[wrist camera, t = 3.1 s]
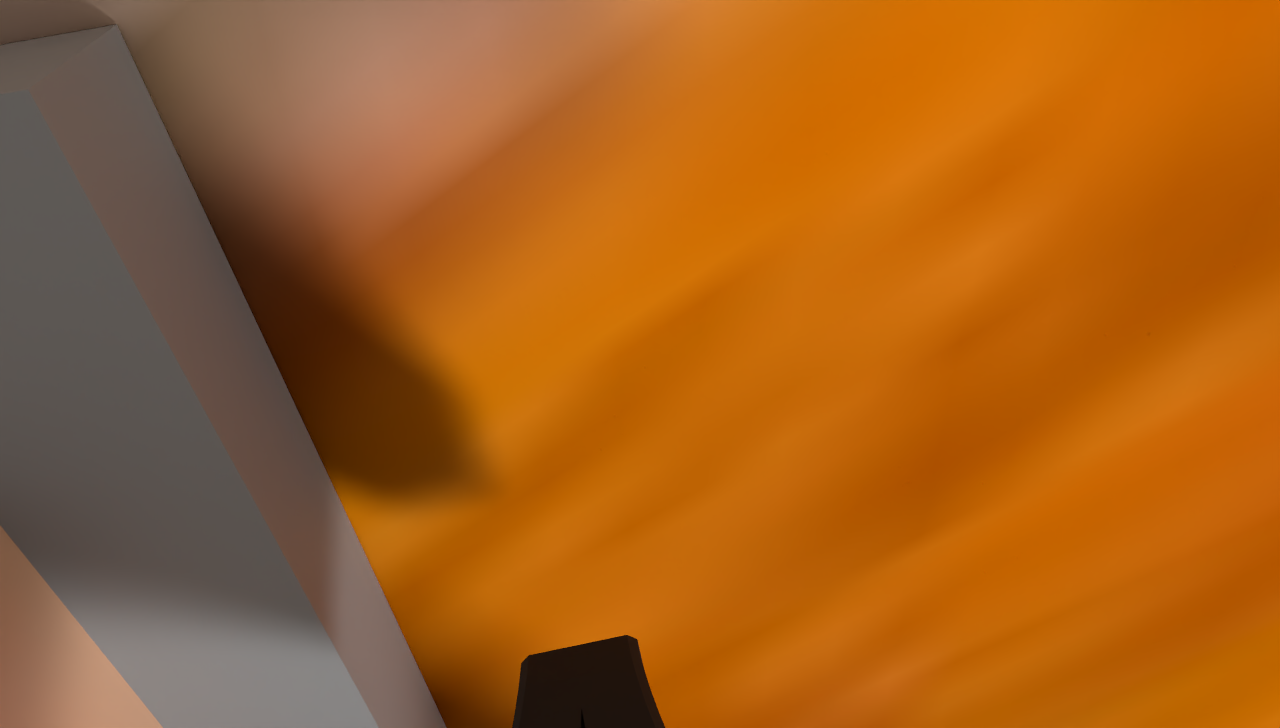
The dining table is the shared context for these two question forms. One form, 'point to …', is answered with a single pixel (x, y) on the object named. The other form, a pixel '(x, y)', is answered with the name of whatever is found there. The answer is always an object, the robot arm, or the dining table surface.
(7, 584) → the tile
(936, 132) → the dining table surface
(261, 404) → the riser
